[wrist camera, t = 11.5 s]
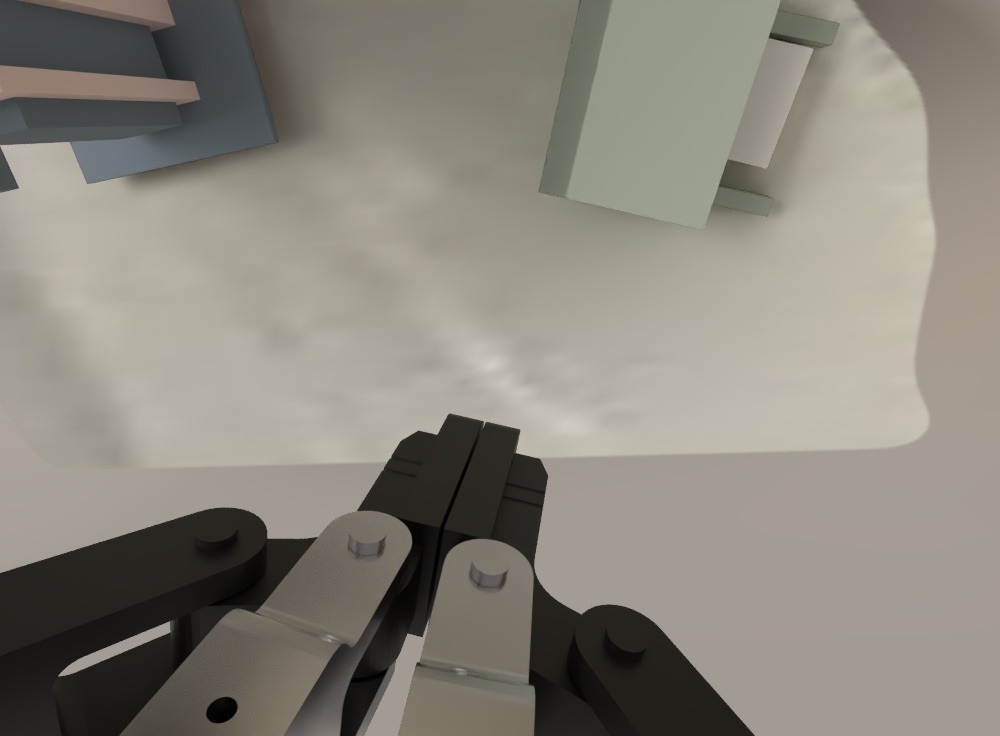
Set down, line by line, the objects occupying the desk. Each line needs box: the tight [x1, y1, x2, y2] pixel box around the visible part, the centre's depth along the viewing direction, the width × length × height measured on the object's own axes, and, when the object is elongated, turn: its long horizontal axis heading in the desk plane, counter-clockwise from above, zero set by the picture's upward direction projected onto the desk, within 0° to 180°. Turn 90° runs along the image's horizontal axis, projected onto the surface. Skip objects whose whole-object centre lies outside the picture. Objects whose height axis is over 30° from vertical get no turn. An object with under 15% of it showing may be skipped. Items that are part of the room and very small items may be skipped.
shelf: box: [539, 0, 840, 230], centre depth 32 cm, size 12×13×6 cm
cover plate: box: [728, 38, 814, 169], centre depth 34 cm, size 6×10×3 cm, turn 77°
